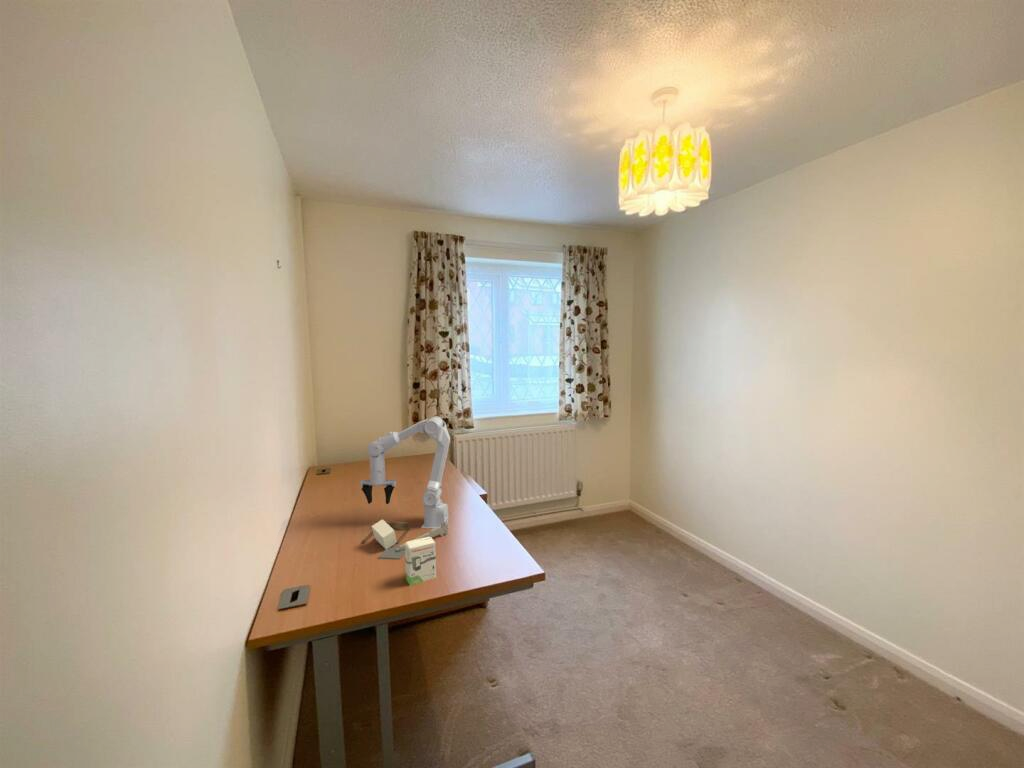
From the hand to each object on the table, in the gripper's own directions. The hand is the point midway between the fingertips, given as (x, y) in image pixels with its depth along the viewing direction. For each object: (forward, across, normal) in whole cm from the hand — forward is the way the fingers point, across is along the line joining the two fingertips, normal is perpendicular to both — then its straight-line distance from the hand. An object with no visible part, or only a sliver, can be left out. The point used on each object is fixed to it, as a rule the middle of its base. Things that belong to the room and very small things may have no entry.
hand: (378, 503), depth 164 cm
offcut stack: (+11, -7, +12) cm, 18 cm away
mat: (+10, -15, +21) cm, 28 cm away
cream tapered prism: (+6, -13, +20) cm, 24 cm away
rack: (+10, -7, +9) cm, 15 cm away
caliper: (+11, -22, +14) cm, 28 cm away
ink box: (+11, -30, +36) cm, 48 cm away
